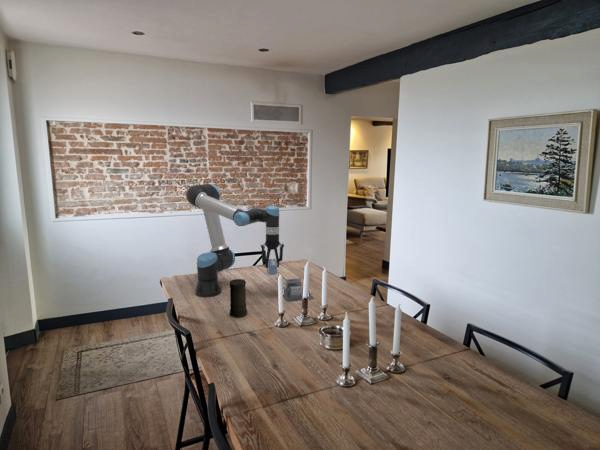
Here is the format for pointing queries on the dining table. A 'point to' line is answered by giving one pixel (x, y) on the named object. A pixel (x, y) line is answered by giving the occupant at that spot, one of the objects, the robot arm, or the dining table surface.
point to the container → (238, 298)
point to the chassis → (294, 290)
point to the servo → (272, 266)
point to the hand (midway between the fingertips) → (272, 272)
